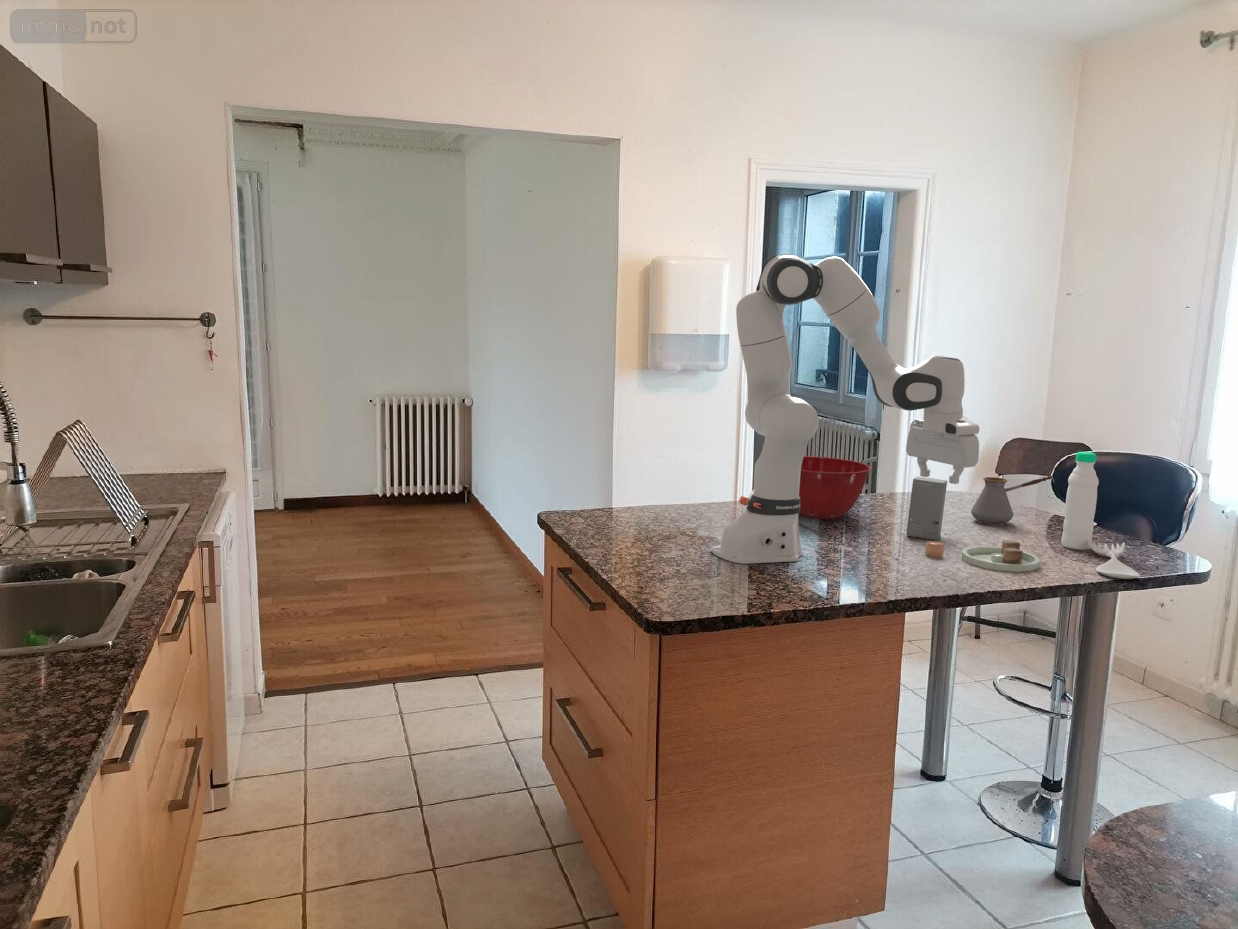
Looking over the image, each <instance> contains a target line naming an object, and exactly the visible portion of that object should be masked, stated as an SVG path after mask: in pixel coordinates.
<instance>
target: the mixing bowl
mask: <svg viewBox="0 0 1238 929" xmlns="http://www.w3.org/2000/svg"><path fill="white" fill-rule="evenodd" d="M871 469H872V467H871V466H870V465H869V464H866V463H863V462H859V461H855V460H850V459H843V458H836V457H826V456H825V457H824V456H805V455H804V457H803V461H802V466H801V474H800V488H799V497H800V498H801V502H800V513H799V516H798V517H803V518H807V519H816V520H833V519H839V518H841V516H844V515H845V514H847V513H849V511H851V509H852V508H853V506H854V505H855V504H856V502H857V500H858V499H859V497H860V495H861V493H862V490H863V488H864V486H865V485H866V481H867V478H868V476H869V472H870V471H871ZM838 517H839V518H838Z"/></svg>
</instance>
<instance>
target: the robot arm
mask: <svg viewBox="0 0 1238 929" xmlns="http://www.w3.org/2000/svg"><path fill="white" fill-rule="evenodd" d="M758 278H759V279H758V282H757V285H756V287H755V288H756V290H755V291H754V292H751V293H748V294H747V295H745V296H744V297H742V298H741V299H740V300H739V301H738V302H737V304H736V308H735V312H736V327H737V334H738V335H737V337H738V339H739V340H738V342H739V345H740V349H741V354H742V359H743V363H744V368H745V373H746V381H747V382H746V383H747V404H746V407H745V409H744V410H745V411H744V415H745V416H744V417H745V420H746V423H747V424H748V425H749V426H750V427H751V429H752V430H753V431H754V432H756V433H757V434H758V435H761V436H762V437H763V436H764V442H763V446H762V449H761V452H760V455H759V457H758V458H757V460H756V461H755V464H754V475H753V477H754V478H753V493H752V494H751V496H750V498H748V497H746V496H744V495H742V496H739V498H738V503H739V504H740V505H743V506H746V510H745V511H743V512H742V513H741V514H740V515H739V516H738V517H736V518H735V519H734V520H732V521H731V522H730V523H729V524H727V525H726V526H725V527H724V530H723V532H722V536H721V542H720V544H718V545H713V546H712V547H711V553H713V554H714V556H717V557H719V558H720V559H723V560H726V561H728V562H731V563H732V562H733V563H737V564H743V565H745V564H746V565H747V564H762V563H763V564H765V563H784V562H785V563H786V562H787V563H788V562H798V561H799V558H800V557H802V555H803V554H804V553H803V549H802V544H801V539H800V529H799V527H800V526H799V517H800V516H799V513H800V502H801V498H800V497H799V488H800V474H801V466H802V461H803V457H804V456H805V453H806V450H807V447H808V445H809V441H811V439H812V438H813V437H814V436H815V434H816V432H817V431H818V427H819V420H820V419H819V416H818V413H817V411H816V409H815V408H814V407H813V406H812V405H811V404H809V403H808V402H807V401H805V400H804V399H802V398H799V397H795V396H792V395H791V391H790V378H791V377H790V375H791V372H792V370H793V366H794V364H793V363H794V362H793V360H792V355H791V354H792V353H791V350H790V345H789V340H788V335H787V331H786V327H785V322H784V311H785V308H786V307H787V306H792V305H798V304H800V303H804V302H805V301H806V302H807V301H809V300H812V299H813V300H814V301H815V302H816V303H817V304H818V305H819V306H820V307H821V309H822V311H823V312H824V314H825V316H827V318H828V319H829V321H830V322H831V323H832V325H833V326H834V327H835V328H836V330H838V331H839V333H840V334H841V335H842V336H843V337H844V338H845V339H846V340H847V342H849V344H850V345H851V347H852V348H853V350H854V352H856V354H857V357H858V358H860V360H861V362H862V364H863V365H864V367H865V368H866V371H867V372H868V374H869V376H870V378H871V383H872V389H873V392H874V395H875V398H876V399H877V400H878V401H879V403H881V404H882V405H884V406H886V407H889V408H896V409H900V410H903V411H907V412H911V411H917V410H922V409H923V418H922V420H921V419H918V418H917V419H914V420H913V421H912V422H911V423H910V425H909V431H908V435H907V440H906V444H905V445H906V446H905V452H906V454H907V455H908V456H909V457H914V458H916V459H917V465H918V468H919V471H920V472H919V477H926V478H930V476H931V474H930V473H931V469H930V468H928V464H927V463H928V462H929V461H932V462H938V463H942V464H947V465H951V466H952V470H954V471H953V473H952V475H949V476H948V482H949V483H950V484H954V485H958V484H959V482H960V477H961V475H962V473H963V472H964V470H965V468H974V467H976V465H977V464H978V462H979V458H980V456H979V455H980V442H979V438H978V436H977V435H978V434H979V433H980V426H979V425H978V424H977V423H976V422H974V421H972V420H970V419H969V418H968V417H965V416H963V415H964V409H963V404H962V403H963V397H964V396H965V367H964V363H963V362H962V361H961V359H959V358H957V357H952V356H946V355H942V354H941V355H940V354H932V355H930V356H929V357H928V358H927V359H925V360H924V361H922V362H921V363H919V364H916V365H914V366H912V367H909V368H905V367H904V366H901V365H899V364H898V363H896V362H895V360H894V359H893V358H892V356H891V354H890V353H889V351H888V349H887V348H886V347H885V346H884V343H883V342H882V340H881V339H880V337H879V335H878V332H877V331H878V330H877V325H878V323H879V320H880V316H881V310H880V308H879V305H878V303H877V301H876V299H875V297H874V294H873V293H872V292H871V291H870V289H869V287H868V286H867V284H866V283H865V282H864V280H863V279H862V278H861V277H860V276H859V274H858V273H857V272H856V270H854V268H853V267H852V266H851V265H850V264H849V263H848V262H846V260H844V258H842V257H840V256H839V257H838V256H830V257H826V258H823V259H822V260H820V261H819V262H817V263H815V264H814V263H812V262H809V261H807V260H805V259H804V258H801V257H800V256H797V255H795V254H790V253H787V254H785V253H784V254H779V255H778V254H777V255H775V256H773V257H771V258H770V259H769V260H768V261H767V262H766V263H765V264H764V265H763V267H762V270H761V272H760V275H759V277H758Z"/></svg>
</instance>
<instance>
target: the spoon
mask: <svg viewBox="0 0 1238 929" xmlns="http://www.w3.org/2000/svg"><path fill="white" fill-rule="evenodd" d="M1087 543H1088V545H1089V546H1090V547H1091V548H1090V549H1091V550H1092V551H1094V552H1095V553H1096V554H1098V555H1100V556H1102V557H1108V558H1110V559H1109V560H1107V561H1106V562H1104V563H1102V564H1099V565H1097V567H1095V570H1096V572H1098V573H1100V574H1101V575H1103V576H1106V577H1109V578H1114V579H1118V580H1119V579H1120V580H1133V579H1137V578H1140V577H1141V576H1142V575H1141V574H1140V573H1139V572H1137V571H1136V570H1135V569H1134V568H1131V567H1129V566H1128V565H1126V564H1125V563H1123V562H1121V561H1120V560H1119V559H1118V558H1120V557H1121V555H1122V554H1123V553H1124V551H1125V549H1126V544H1125V542H1123V543H1122V544H1121V546H1120V545H1119V543H1116V548H1115V545H1114V544H1113V543H1112V544H1111V549H1110V548H1109V546H1108V544H1107V543H1104V545H1103V548H1102V546H1101V544H1100V542H1098V543H1097V544H1096V542H1095V541H1094V540H1092V543H1091V542H1090V540H1089V539H1087Z"/></svg>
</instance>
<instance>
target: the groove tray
mask: <svg viewBox="0 0 1238 929" xmlns="http://www.w3.org/2000/svg"><path fill="white" fill-rule="evenodd" d="M1001 549H1002V546H990V545H989V546H988V545H987V546H986V545H977V546H967V547H966V548H962V551H961V560H962V561H964V562H965V563H967V564H969V565H973V566H976V567H979V568H982V569H988V570H993V571H1001V572H1002V571H1003V572H1012V573H1013V572H1015V573H1017V572H1019V573H1021V572H1022V573H1023V572H1031V571H1032V572H1033V571H1035V570H1037V569H1039V568H1040V564H1041V562H1040V561H1041V560H1040V558H1039V557H1038V556H1036V555H1034V554H1032V553H1031V552H1027V551H1023V550H1022V551H1023V553H1022V563H1021V564H1006V563H1003V555H1004V554H1001Z"/></svg>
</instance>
